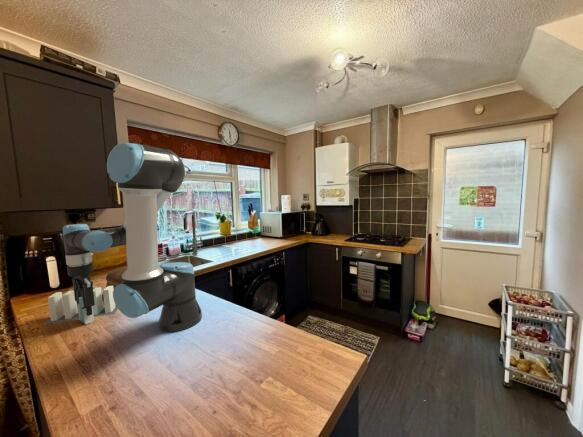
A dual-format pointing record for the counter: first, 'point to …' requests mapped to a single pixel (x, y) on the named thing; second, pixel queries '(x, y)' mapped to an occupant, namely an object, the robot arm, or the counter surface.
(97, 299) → the domino
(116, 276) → the bread
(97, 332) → the counter surface
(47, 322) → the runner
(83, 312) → the teal domino
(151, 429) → the counter surface
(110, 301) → the domino
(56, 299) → the domino
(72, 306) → the domino
